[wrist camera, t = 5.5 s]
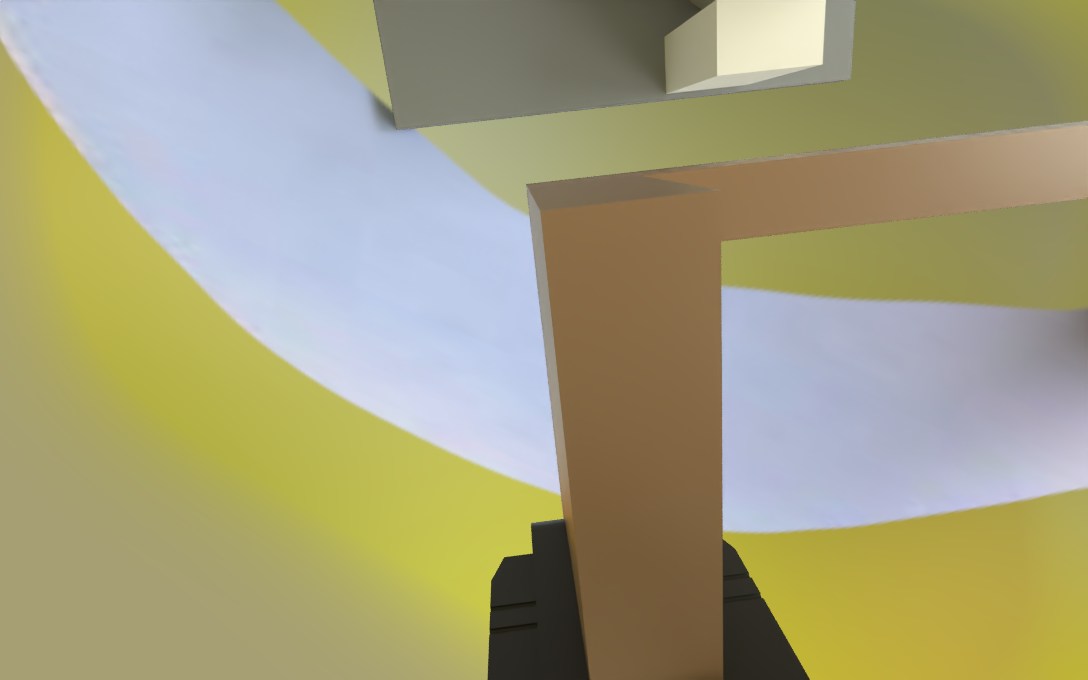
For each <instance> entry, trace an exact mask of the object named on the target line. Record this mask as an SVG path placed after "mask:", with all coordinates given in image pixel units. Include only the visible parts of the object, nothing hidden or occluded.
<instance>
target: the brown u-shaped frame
mask: <svg viewBox="0 0 1088 680" xmlns="http://www.w3.org/2000/svg"><path fill="white" fill-rule="evenodd" d="M526 188H527V197H528V205H529V215H530V224H531V233H532V242H533V250H534V259H535V268H536V277H537V286H538V295H539V304H540V313H541V321H542V330H543V339H544V348H545V357H546V366H547V375H548V384H549V393H550V401H551V410H552V419H553V428H554V437H555V446H556V455H557V464H558V472H559V481H560V490H561V499H562V508H563V517H564V519H565V524H566V530H567V537H568V544H569V550H570V557H571V563H572V570H573V576H574V583H575V590H576V596H577V603H578V609H579V616H580V622H581V629H582V636H583V642H584V649H585V655H586V662H587V668H588V675H589V680H723V543H722V342H721V241H728V240H736V239H745V238H753V237H762V236H771V235H778V234H788V233H796V232H805V231H813V230H821V229H830V228H839V227H848V226H855V225H865V224H873V223H882V222H890V221H899V220H908V219H916V218H925V217H933V216H942V215H950V214H959V213H967V212H976V211H985V210H993V209H1002V208H1010V207H1019V206H1027V205H1036V204H1044V203H1053V202H1062V201H1070V200H1078V199H1087V198H1088V121H1078V122H1070V123H1061V124H1052V125H1043V126H1035V127H1026V128H1017V129H1008V130H999V131H991V132H981V133H973V134H964V135H956V136H946V137H937V138H929V139H920V140H911V141H902V142H894V143H885V144H876V145H867V146H859V147H849V148H841V149H833V150H823V151H815V152H806V153H797V154H788V155H779V156H770V157H762V158H753V159H744V160H735V161H726V162H718V163H709V164H700V165H691V166H683V167H674V168H665V169H656V170H647V171H638V172H630V173H621V174H612V175H603V176H594V177H586V178H577V179H569V180H559V181H551V182H542V183H533V184H526Z"/></svg>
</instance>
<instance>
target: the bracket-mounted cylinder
mask: <svg viewBox="0 0 1088 680" xmlns="http://www.w3.org/2000/svg"><path fill="white" fill-rule="evenodd" d="M373 2H374V7H375V13H376V19H377V25H378V30H379V36H380V41H381V47H382V53H383V57H384V64H385V69H386V75H387V80H388V86H389V92H390V97H391V102H392V108H393V114H394V120H395V125H396V129H398V130H404V129H413V128H422V127H431V126H440V125H448V124H458V123H467V122H476V121H485V120H494V119H503V118H512V117H521V116H530V115H539V114H548V113H558V112H566V111H576V110H584V109H594V108H603V107H612V106H621V105H630V104H638V103H648V102H657V101H666V100H675V99H684V98H693V97H703V96H712V95H721V94H730V93H739V92H747V91H757V90H765V89H775V88H783V87H793V86H802V85H811V84H820V83H829V82H838V81H844V80H849V79H851V67H852V53H853V37H854V22H855V20H854V19H855V6H856V0H373Z"/></svg>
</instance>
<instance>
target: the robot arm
mask: <svg viewBox="0 0 1088 680" xmlns="http://www.w3.org/2000/svg"><path fill="white" fill-rule="evenodd" d="M531 531H532V547H533V554H527V555H519V556H511V557H504V559H503V561H502V562H501V564H500V566H499V568H498V570H497V571H496V573H495V575H494V577H493V579H492V581H491V604H490V607H491V612H490V635H489V659H488V680H589V675H588V668H587V662H586V655H585V649H584V642H583V636H582V629H581V622H580V616H579V609H578V603H577V596H576V590H575V583H574V576H573V570H572V563H571V557H570V550H569V544H568V537H567V530H566V524H565V519H560V520H552V521H544V522H537V523H532V524H531ZM722 543H723V680H810V679H809V677H808V676H807V674H806V672H805V670H804V669H803V667H802V665H801V663H800V662H799V660H798V658H797V656H796V655H795V653H794V651H793V649H792V648H791V646H790V644H789V642H788V641H787V639H786V637H785V635H784V634H783V632H782V630H781V628H780V627H779V625H778V623H777V621H776V620H775V618H774V616H773V614H772V613H771V611H770V609H769V607H768V606H767V604H766V602H765V600H764V599H763V598H761V595H760V592H759V590H758V588H757V587H756V585H755V583H754V581H753V579H752V578H750V577H749V573H748V571H747V569H746V567H745V566H744V564H743V562H742V560H741V558H740V557H739V555H738V553H737V551H736V550H735V549H734V548H733V547H732V546H731V545H729V544H728V543H727V542H726V541H724V540H723V539H722Z"/></svg>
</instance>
